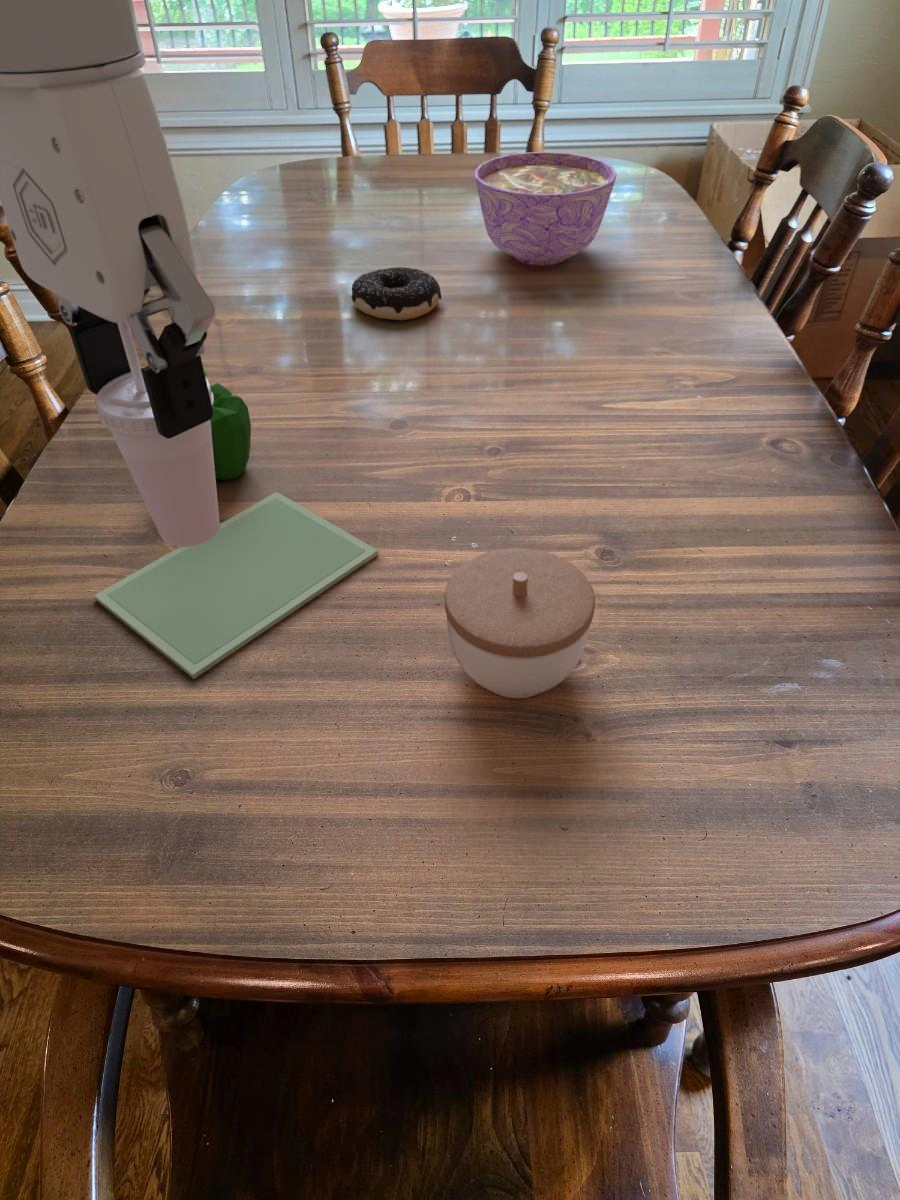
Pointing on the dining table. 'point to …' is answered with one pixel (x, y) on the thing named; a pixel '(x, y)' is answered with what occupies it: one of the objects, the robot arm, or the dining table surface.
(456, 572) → the trinket box
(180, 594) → the placemat
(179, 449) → the smoothie
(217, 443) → the bell pepper
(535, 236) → the bowl of food
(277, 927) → the dining table surface
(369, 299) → the donut
